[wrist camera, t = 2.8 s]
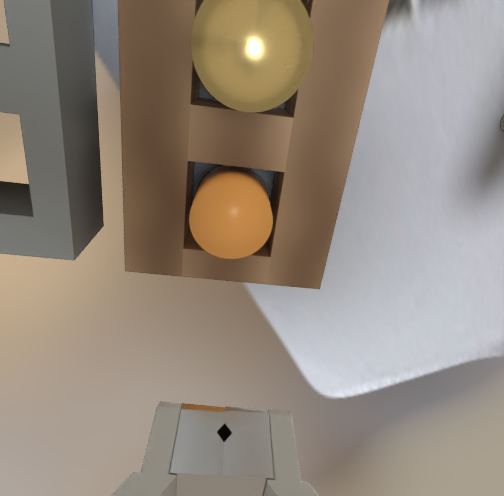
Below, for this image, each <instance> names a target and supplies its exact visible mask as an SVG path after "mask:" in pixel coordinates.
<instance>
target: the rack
mask: <svg viewBox="0 0 504 496" xmlns="http://www.w3.org/2000/svg"><path fill="white" fill-rule="evenodd" d="M4 6H5V14H6V21H7V28H8V35H9V42H10V44H5V43H0V112H4V113H12V114H20V122H21V129H22V136H23V143H24V150H25V158H26V165H27V172H28V179H29V184H21V183H12V182H3V181H0V253H1V254H12V255H23V256H33V257H44V258H55V259H65V260H75V259H76V258H77V257H78V256H79V254H80V253H81V252H82V251H83V250H84V248H85V247H86V246H87V245H88V244H89V243H90V241H91V240H92V239H93V238H94V237H95V235H96V234H97V233H98V232H99V231H100V230H101V228H102V227H103V226H104V224H103V207H102V206H103V205H102V187H101V169H100V168H101V167H100V148H99V129H98V110H97V92H96V72H95V52H94V33H93V14H92V0H4Z"/></svg>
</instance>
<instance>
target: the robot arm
mask: <svg viewBox="0 0 504 496" xmlns="http://www.w3.org/2000/svg"><path fill="white" fill-rule="evenodd" d="M111 496H318V494H317V493H316V492H315V490H314V489H313V488H312V486H311V485H310V484H309V482H302V481H301V475H300V468H299V462H298V455H297V448H296V441H295V434H294V427H293V420H292V415H291V413H290V411H282V410H267V409H256V408H239V407H225V408H224V407H215V406H205V405H194V404H183V403H182V404H181V403H170V402H159V404H158V406H157V409H156V413H155V417H154V421H153V425H152V429H151V433H150V437H149V441H148V445H147V449H146V453H145V457H144V461H143V464H142V468H141V472H134V473H132V474H131V475H130V476H129V477H128V479H126V480H125V481H124V482H123V484H122V485H121V486H120V487H119V488H118V489H117V490H116V491H115V492H114V493H113V494H112V495H111Z"/></svg>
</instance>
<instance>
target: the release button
mask: <svg viewBox="0 0 504 496" xmlns="http://www.w3.org/2000/svg"><path fill="white" fill-rule="evenodd" d="M189 224H190V229H191V233H192V235H193V237H194V239H195V240H196V242H197V243H198V244H199V245H200V246H201V247H202V248H203V249H204V250H205V251H207V252H208V253H210V254H212V255H214V256H217V257H220V258H225V259H238V258H243V257H246V256H249V255H251V254H253V253H255V252H256V251H258V250H259V249H260V248H261V247H262V246H263V245H264V244H265V242H266V241H267V239H268V238H269V236H270V233H271V230H272V225H273V216H272V211H271V206H270V202H269V197H268V192H267V189H266V186H265V184H264V182H263V181H262V179H261V178H260V177H259V176H258V175H257V174H256V173H255V172H253V171H252V170H250V169H248V168H245V167H237V166H228V165H224V166H220V167H218V168H215V169H213V170H212V171H210V172H209V173H208V174H207V175H206V176H205V177H204V178H203V179H202V181H201V182H200V184H199V187H198V189H197V192H196V195H195V198H194V201H193V204H192V207H191V210H190V215H189Z"/></svg>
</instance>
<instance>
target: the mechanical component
mask: <svg viewBox="0 0 504 496" xmlns="http://www.w3.org/2000/svg"><path fill="white" fill-rule="evenodd" d="M500 127H501V129H502V130H503V131H504V115H503V117H502V119H501V122H500Z"/></svg>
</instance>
